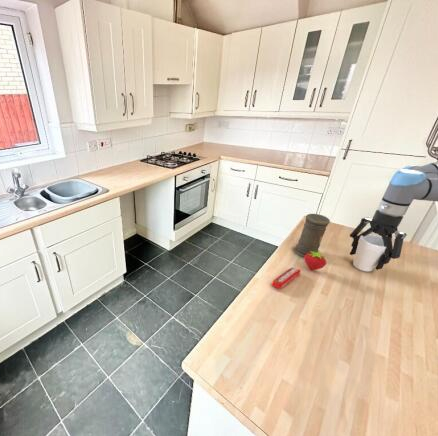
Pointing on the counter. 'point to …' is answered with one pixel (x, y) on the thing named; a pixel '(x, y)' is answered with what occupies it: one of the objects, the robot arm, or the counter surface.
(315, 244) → the container
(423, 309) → the counter surface
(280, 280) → the candy bar
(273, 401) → the counter surface
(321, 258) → the strawberry
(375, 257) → the foam cup
